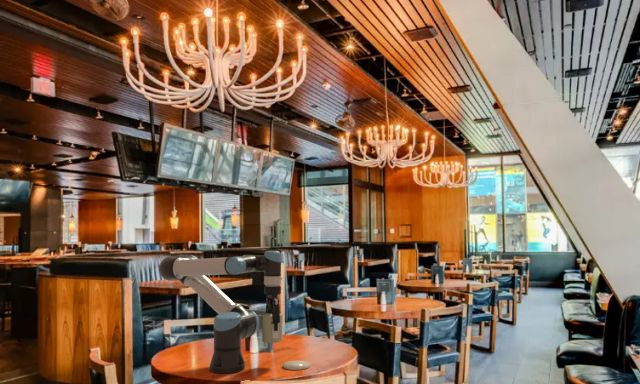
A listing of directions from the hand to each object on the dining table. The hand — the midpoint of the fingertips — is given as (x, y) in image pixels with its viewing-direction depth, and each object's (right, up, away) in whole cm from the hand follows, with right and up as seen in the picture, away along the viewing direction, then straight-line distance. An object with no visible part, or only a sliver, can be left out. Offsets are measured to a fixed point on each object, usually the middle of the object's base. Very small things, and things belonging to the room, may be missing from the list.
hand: (272, 335), depth 231 cm
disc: (+11, -12, -5) cm, 17 cm away
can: (0, -2, 0) cm, 2 cm away
